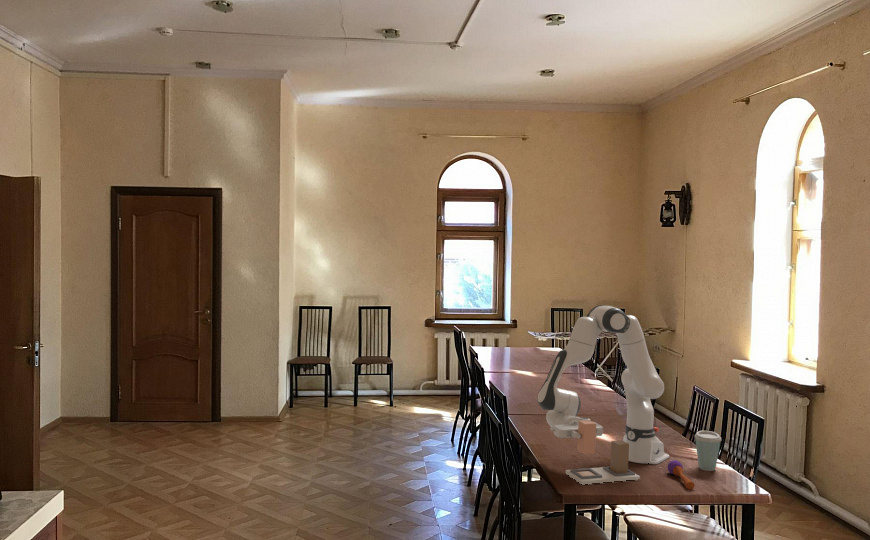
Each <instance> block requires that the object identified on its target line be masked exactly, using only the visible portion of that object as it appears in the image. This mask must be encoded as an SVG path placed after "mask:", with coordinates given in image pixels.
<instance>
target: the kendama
mask: <svg viewBox="0 0 870 540" xmlns="http://www.w3.org/2000/svg"><path fill="white" fill-rule="evenodd" d="M667 471H668V472H669V474H671V475H672V474H673V476H676V477H680V479H681V480H682V482H683V484H684V486H685V488H686V489H687V488H688V489H687V490H694V488H695V485H696V484H695V483H694V482H693V481H692V480H691V479H689V478H688V477H687V476H686V475H684V474H683V473H684V466H683V464H682V463H681V462H680V461H678V460H675V459H674V460H673V459H672V460H670V461H669V462H668V464H667Z"/></svg>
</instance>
